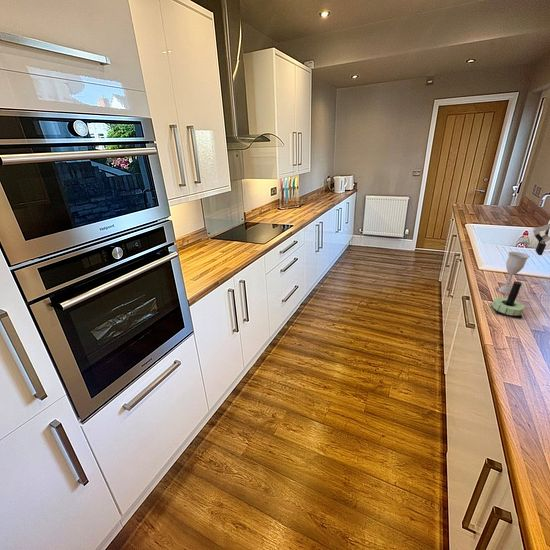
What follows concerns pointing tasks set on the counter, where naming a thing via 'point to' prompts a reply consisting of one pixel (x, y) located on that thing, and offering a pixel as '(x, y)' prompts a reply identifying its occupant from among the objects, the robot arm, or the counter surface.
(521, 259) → the chalice
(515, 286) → the post
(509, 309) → the ring
